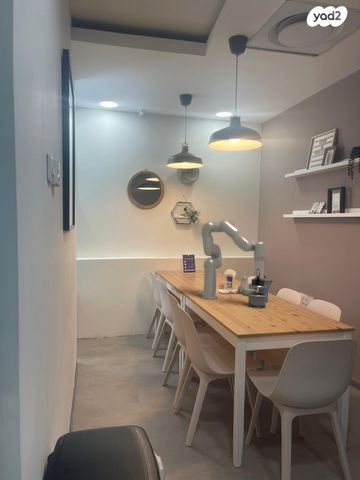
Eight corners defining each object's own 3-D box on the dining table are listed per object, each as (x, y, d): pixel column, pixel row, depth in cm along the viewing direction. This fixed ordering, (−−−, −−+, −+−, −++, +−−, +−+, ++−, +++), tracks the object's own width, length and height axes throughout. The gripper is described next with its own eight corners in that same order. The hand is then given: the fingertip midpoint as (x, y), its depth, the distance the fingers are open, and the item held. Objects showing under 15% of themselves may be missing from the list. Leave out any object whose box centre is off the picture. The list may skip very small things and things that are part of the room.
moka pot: (272, 303, 260) (273, 277, 259) (251, 301, 263) (252, 275, 262) (271, 300, 269) (272, 275, 268) (251, 299, 272) (252, 274, 271)
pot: (247, 307, 245) (247, 294, 244) (248, 303, 257) (249, 291, 256) (265, 309, 241) (265, 296, 241) (266, 305, 253) (266, 293, 253)
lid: (247, 287, 244) (248, 280, 244) (249, 284, 256) (249, 277, 256) (266, 289, 240) (267, 281, 240) (267, 285, 253) (267, 278, 252)
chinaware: (254, 299, 280) (257, 279, 278) (234, 295, 285) (237, 275, 284) (258, 293, 306) (261, 275, 305) (239, 289, 312) (242, 271, 310)
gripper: (254, 257, 256) (253, 282, 257) (252, 259, 240) (251, 285, 241) (264, 258, 254) (263, 282, 255) (263, 260, 238) (262, 286, 239)
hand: (257, 284), depth 248 cm, fingers closed on lid, 4 cm apart
